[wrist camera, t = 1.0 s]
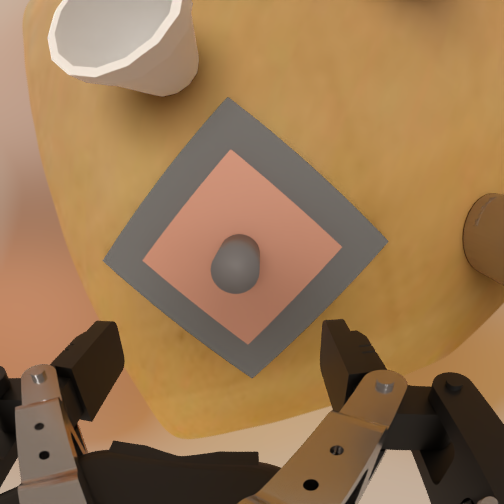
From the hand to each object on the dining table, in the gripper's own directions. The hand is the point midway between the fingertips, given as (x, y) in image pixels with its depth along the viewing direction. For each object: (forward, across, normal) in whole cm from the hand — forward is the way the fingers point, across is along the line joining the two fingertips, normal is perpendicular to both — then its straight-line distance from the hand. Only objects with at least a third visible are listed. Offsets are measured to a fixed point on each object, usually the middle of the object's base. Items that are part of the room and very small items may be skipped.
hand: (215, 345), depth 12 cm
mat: (+19, 0, +1) cm, 19 cm away
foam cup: (+19, +6, -17) cm, 26 cm away
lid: (+18, 0, +1) cm, 18 cm away
